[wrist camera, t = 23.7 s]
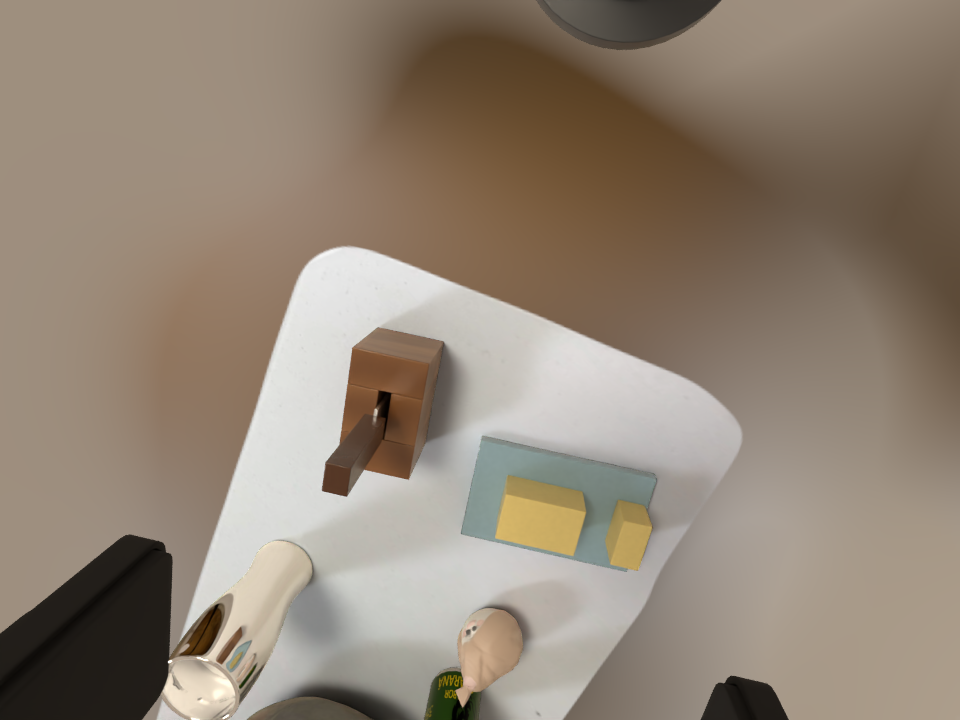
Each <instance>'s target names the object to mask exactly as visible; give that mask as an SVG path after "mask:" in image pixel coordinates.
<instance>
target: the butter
mask: <svg viewBox="0 0 960 720" xmlns="http://www.w3.org/2000/svg"><path fill="white" fill-rule="evenodd" d="M585 516H586V508H585V502H584V496H583V492H582V491H578V490H573V489H569V488H564V487H560V486H555V485H551V484H546V483H542V482H537V481H533V480H528V479H524V478H520V477H515V476H511V475H507V479H506V483H505V487H504V491H503V495H502V500H501V504H500V508H499V512H498V517H497V525H496V534H495V538H496V539H500V540H504V541H509V542H513V543H518V544H522V545H526V546H531V547H535V548H539V549H544V550H548V551H553V552H557V553H561V554H566V555H570V556H574V553H575V550H576V546H577V543H578V540H579V536H580V533H581V529H582V526H583V522H584V519H585Z"/></svg>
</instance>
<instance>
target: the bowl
mask: <svg viewBox="0 0 960 720" xmlns="http://www.w3.org/2000/svg"><path fill="white" fill-rule="evenodd" d="M247 720H373V719H371V718H369V717H368V716H366V715H364V714H363V713H361V712H359V711H357V710H355V709H353V708H351V707H348V706H346V705H343V704H340V703H337V702H334V701H331V700H328V699H324V698H320V697H297V698H292V699H288V700H284V701H281V702H278V703H275V704H272V705H270V706H267V707H265V708H263V709H261V710H260V711H258V712H256V713H255V714H253V715H252V716H251V717H249V718H248V719H247Z"/></svg>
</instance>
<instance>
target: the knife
mask: <svg viewBox="0 0 960 720" xmlns="http://www.w3.org/2000/svg"><path fill="white" fill-rule="evenodd" d="M391 394H392V393H389V392H387V394H386V395H385V396H384V398H383V399H382V400H381V401H380V403H379V404H378V405H377V407H376V408H375V409H374V415H369V414H364V415H363V417H362V418H361V419H360V420H359V422H358V423H357V424H356V425H355V427H354V428H353V429H352V430H351V432H350V433H349V434H348V435H347V437H346V438H345V439H344V440H343V442H342V443H341V444H340V445H339V446H338V448H337V449H336V450H335V451H334V453H333V454H332V455H331V456H330V458H329V459H328V460H327V461H326V463H325V470H324V478H323V486H322V491H324V492H329V493H333V494H337V495H342V496H347V495H348V494H349V492H350V491H351V489H352V488H353V486H354V485H355V483H356V481H357V480H358V478H359V477H360V475H361V474H362V472H363V470H364V469H365V467H366V466H367V464H368V463H369V461H370V460H371V458H372V456H373V455H374V453H375V452H376V450H377V449H378V447H379V445H380V444H381V442H382V438H383V432H384V428H385V427H386V425H387V419H388V413H389V407H390V400H391Z"/></svg>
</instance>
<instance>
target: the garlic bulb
mask: <svg viewBox="0 0 960 720" xmlns="http://www.w3.org/2000/svg"><path fill="white" fill-rule="evenodd" d="M457 645H458V656H459V661H460V664H461V673H462V677H463V687H462V688H459V689H457V690H455V691H456V693H457V696H458V698H459V701H460V703H461V705H462V708H463V707H464V705H465V704H466V702H467V701H468V699H469V696H470V694H471V692H472V691H473V692H480V691H482V690H484V689H485V688H487V687H488V686H489V685H491V684H492V683H493V682H494V681H496V680H497V679H498V678H500V677H501V676H503V675H505V674H507V673H508V672H510V671H511V670H513V669H514V667H515V666H516V665H517V664H518V662H519V659H520V655H521V653H522V650H523V640H522V634H521V630H520V628H519V625H518V623H517V621H516V620H515V618H514V617H512V616H511V615H510V614H509V613H507V612H506V611H504V610H498V609H494V608H484V609H481V610H478V611H476V612H475V613H473V614H472V615H471V616H470V617H469V618H468V619H467V621H466V622H465V624H464V626H463V628H462V630H461V632H460V634H459V636H458V643H457Z"/></svg>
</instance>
